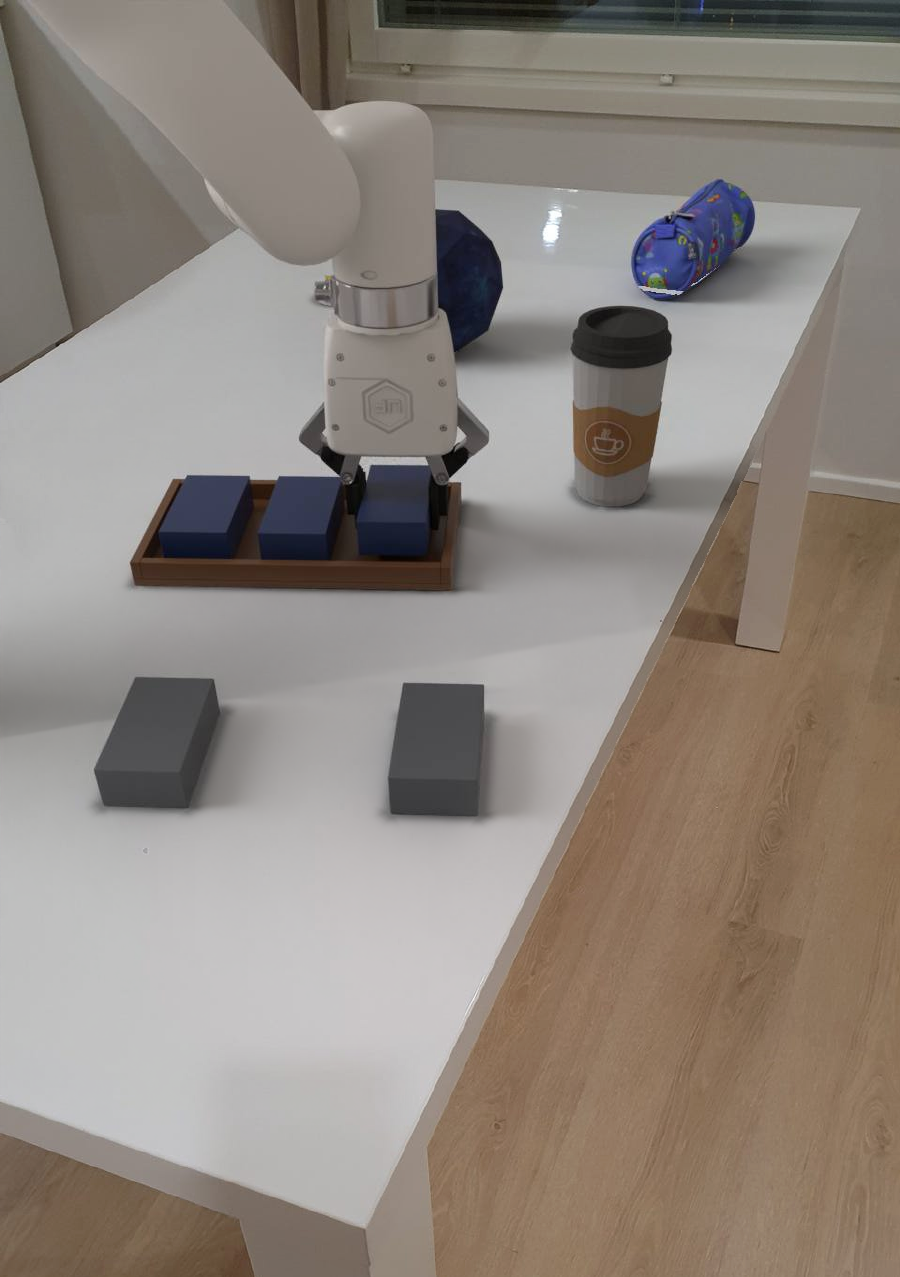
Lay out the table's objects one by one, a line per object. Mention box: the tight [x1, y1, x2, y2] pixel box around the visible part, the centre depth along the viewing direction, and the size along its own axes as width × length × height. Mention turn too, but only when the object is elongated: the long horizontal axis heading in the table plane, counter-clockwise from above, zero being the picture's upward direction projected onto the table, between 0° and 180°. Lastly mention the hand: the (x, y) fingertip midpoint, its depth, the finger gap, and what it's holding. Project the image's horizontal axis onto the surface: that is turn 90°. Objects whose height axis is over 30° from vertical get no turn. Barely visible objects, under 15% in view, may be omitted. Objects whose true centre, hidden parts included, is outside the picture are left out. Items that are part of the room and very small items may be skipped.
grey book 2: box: [387, 682, 485, 817], centre depth 78 cm, size 6×10×3 cm, turn 176°
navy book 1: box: [159, 474, 254, 559], centre depth 101 cm, size 6×10×3 cm, turn 176°
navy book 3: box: [356, 464, 431, 556], centre depth 99 cm, size 6×10×3 cm, turn 176°
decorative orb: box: [435, 208, 504, 355], centre depth 130 cm, size 14×15×15 cm
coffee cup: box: [569, 305, 673, 508], centre depth 103 cm, size 8×8×15 cm
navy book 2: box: [257, 475, 345, 561], centre depth 100 cm, size 6×10×3 cm, turn 176°
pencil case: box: [630, 178, 756, 301], centre depth 147 cm, size 22×9×10 cm, turn 150°
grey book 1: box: [93, 676, 221, 809], centre depth 79 cm, size 6×10×3 cm, turn 176°
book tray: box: [129, 478, 462, 591], centre depth 101 cm, size 26×15×2 cm, turn 86°
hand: (398, 519), depth 100 cm, fingers closed on navy book 3, 5 cm apart
